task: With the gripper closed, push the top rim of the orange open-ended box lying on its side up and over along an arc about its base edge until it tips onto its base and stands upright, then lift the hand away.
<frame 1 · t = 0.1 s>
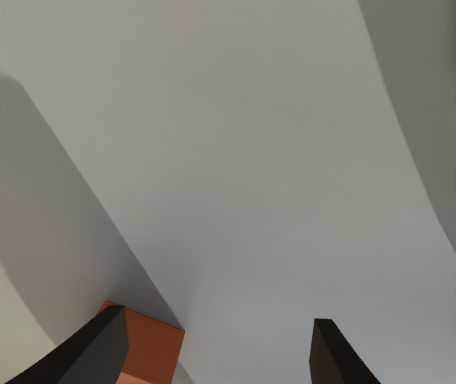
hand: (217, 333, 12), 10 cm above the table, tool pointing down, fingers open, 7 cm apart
orange open-ended box: (174, 354, 26), on the table
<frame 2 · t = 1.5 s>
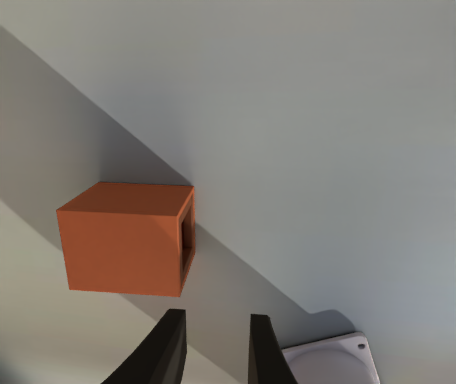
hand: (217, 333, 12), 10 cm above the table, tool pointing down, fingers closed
orange open-ended box: (194, 220, 22), on the table
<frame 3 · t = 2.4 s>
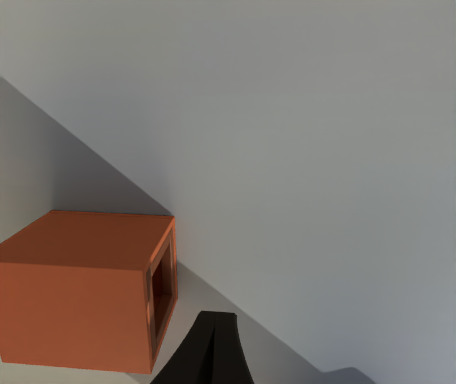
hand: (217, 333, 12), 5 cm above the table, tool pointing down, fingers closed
orange open-ended box: (176, 259, 17), on the table
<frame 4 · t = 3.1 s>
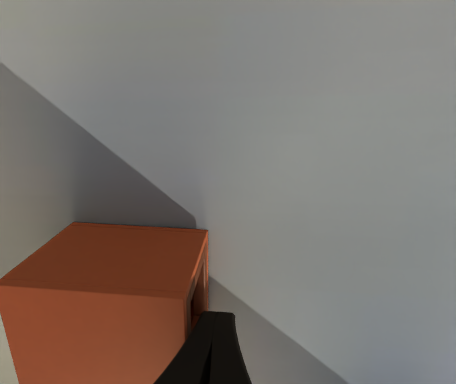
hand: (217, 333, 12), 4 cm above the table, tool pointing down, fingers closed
orange open-ended box: (208, 276, 16), on the table, touching gripper
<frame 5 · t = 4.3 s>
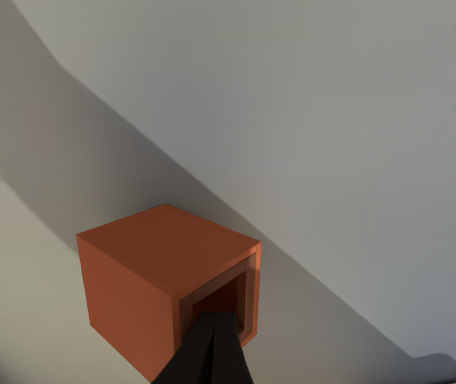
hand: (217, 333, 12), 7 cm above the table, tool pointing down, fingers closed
orange open-ended box: (259, 290, 15), point 4 cm above the table, tilted 37°, touching gripper
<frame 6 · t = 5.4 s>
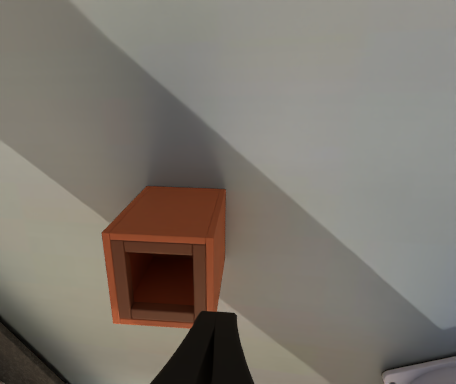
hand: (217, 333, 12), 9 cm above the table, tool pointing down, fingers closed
orange open-ended box: (213, 286, 15), point 6 cm above the table, tilted 90°
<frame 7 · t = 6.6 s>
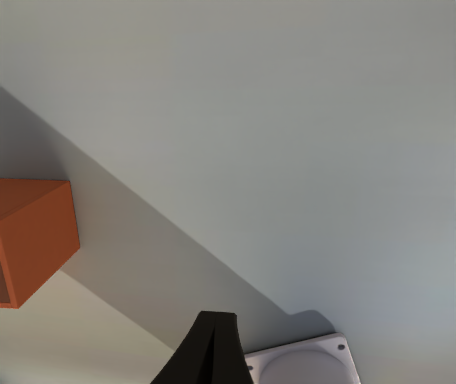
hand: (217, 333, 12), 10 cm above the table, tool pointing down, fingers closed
orange open-ended box: (8, 267, 16), point 6 cm above the table, tilted 90°
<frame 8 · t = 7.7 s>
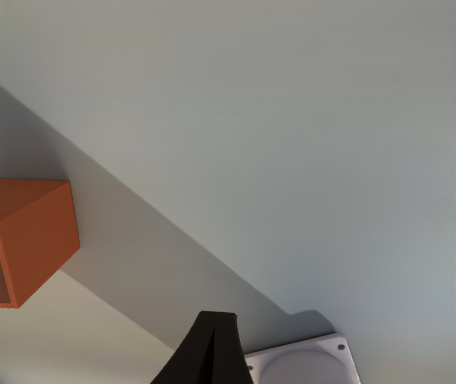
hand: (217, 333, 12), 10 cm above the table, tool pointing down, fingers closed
orange open-ended box: (8, 267, 16), point 6 cm above the table, tilted 90°
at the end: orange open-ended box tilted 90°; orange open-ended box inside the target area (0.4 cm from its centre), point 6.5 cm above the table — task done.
